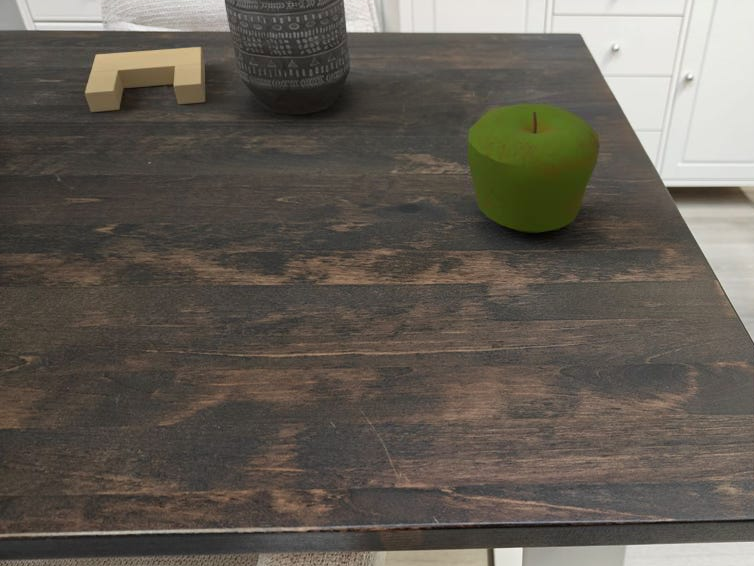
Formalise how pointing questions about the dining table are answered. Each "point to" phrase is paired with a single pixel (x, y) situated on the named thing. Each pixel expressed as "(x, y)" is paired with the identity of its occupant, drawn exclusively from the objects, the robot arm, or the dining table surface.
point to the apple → (531, 165)
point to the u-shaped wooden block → (146, 75)
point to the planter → (290, 51)
